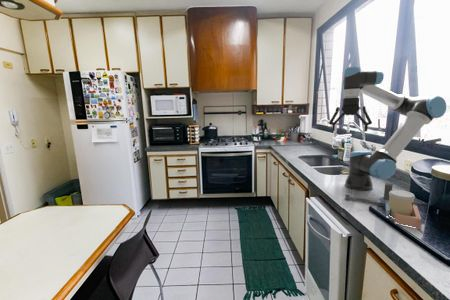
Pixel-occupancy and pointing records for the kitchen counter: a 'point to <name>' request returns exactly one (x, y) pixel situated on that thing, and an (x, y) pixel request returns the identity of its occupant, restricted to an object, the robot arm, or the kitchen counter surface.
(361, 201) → the rail
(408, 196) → the coffee cup
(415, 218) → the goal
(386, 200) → the pusher
